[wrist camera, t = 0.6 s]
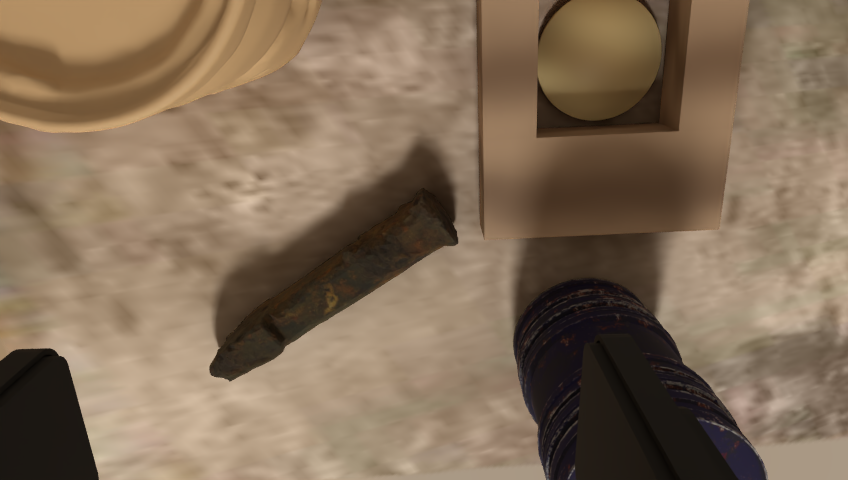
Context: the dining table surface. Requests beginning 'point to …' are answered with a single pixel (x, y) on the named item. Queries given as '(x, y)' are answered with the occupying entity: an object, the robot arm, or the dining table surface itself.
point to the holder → (605, 117)
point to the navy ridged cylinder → (562, 369)
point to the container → (136, 55)
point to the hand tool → (336, 284)
